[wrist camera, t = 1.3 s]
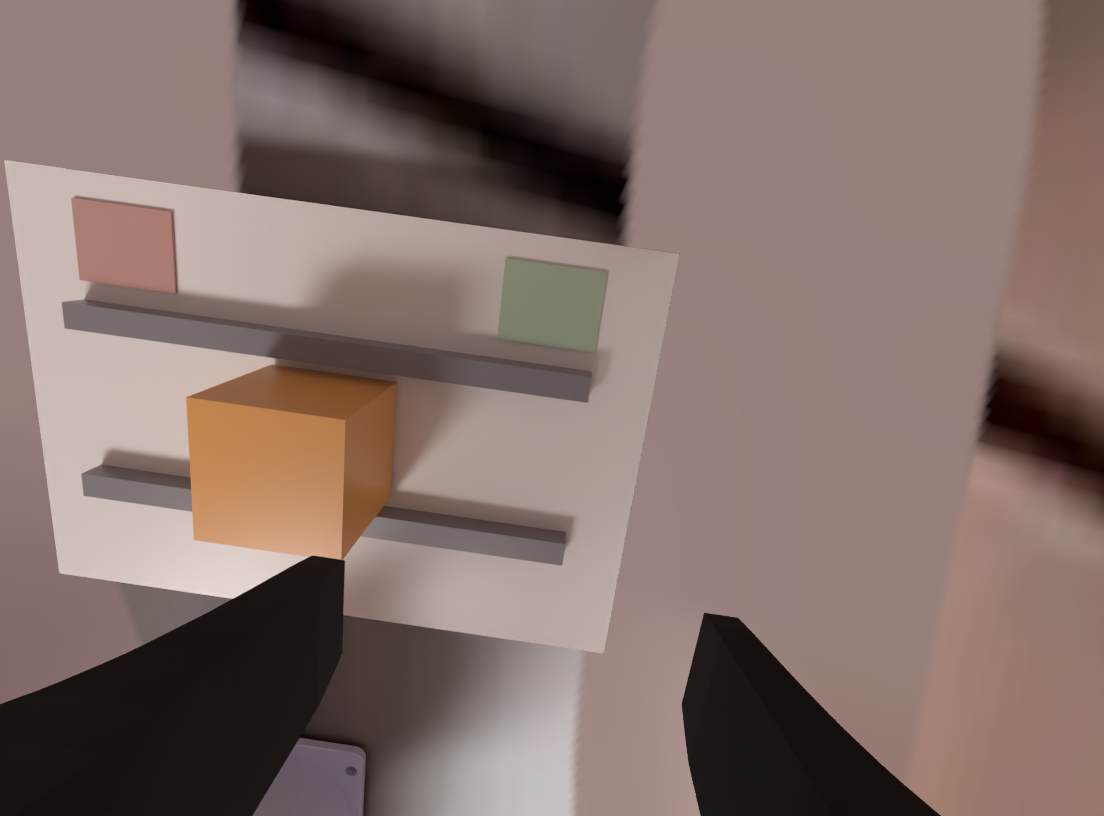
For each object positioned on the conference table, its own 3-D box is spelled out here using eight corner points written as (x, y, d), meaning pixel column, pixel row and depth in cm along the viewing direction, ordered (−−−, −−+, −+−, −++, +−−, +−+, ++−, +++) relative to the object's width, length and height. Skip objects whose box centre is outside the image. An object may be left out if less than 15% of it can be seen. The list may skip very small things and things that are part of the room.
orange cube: (390, 496, 19) (341, 561, 15) (272, 480, 19) (193, 540, 15) (396, 381, 18) (345, 420, 14) (271, 364, 18) (186, 397, 14)
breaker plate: (601, 618, 22) (604, 669, 19) (104, 545, 22) (38, 585, 20) (669, 252, 18) (684, 254, 15) (64, 169, 18) (-24, 155, 16)
